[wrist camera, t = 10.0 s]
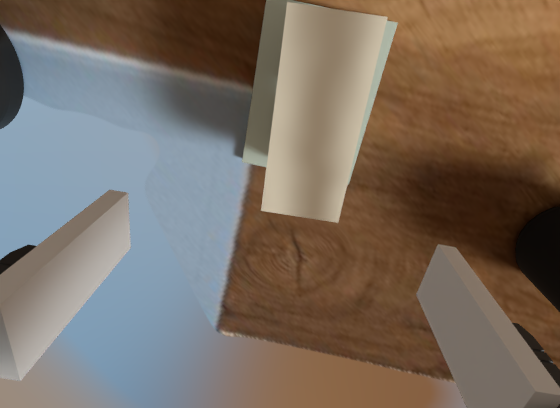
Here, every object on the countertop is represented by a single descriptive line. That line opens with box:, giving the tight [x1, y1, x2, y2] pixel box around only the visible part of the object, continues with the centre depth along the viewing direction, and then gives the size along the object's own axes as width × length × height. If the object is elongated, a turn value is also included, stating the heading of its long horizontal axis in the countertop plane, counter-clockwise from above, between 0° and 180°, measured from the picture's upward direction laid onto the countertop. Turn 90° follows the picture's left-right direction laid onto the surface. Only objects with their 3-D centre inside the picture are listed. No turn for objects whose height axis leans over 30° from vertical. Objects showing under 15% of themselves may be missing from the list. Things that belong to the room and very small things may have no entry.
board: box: [242, 0, 398, 184], centre depth 34 cm, size 12×16×1 cm
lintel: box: [261, 2, 388, 223], centre depth 26 cm, size 6×14×6 cm, turn 172°
